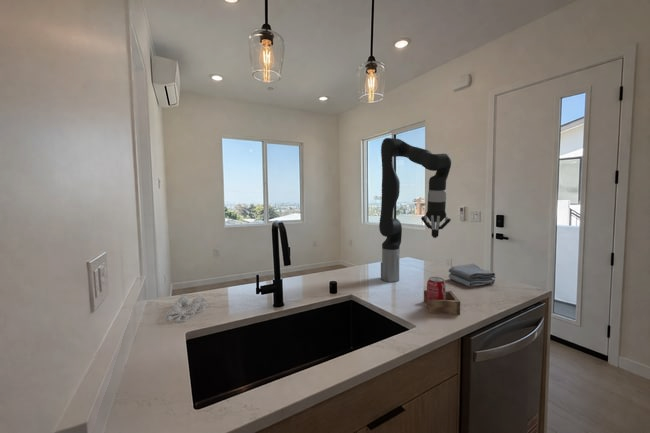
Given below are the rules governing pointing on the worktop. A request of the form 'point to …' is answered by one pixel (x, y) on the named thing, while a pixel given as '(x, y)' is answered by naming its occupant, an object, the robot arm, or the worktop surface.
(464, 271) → the towel
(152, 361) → the worktop surface
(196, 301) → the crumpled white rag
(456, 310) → the wooden tray
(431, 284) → the soda can
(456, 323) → the worktop surface
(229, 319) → the worktop surface
